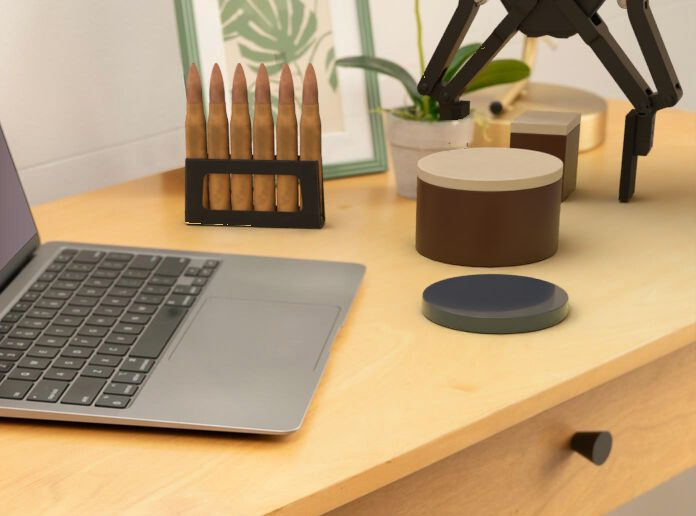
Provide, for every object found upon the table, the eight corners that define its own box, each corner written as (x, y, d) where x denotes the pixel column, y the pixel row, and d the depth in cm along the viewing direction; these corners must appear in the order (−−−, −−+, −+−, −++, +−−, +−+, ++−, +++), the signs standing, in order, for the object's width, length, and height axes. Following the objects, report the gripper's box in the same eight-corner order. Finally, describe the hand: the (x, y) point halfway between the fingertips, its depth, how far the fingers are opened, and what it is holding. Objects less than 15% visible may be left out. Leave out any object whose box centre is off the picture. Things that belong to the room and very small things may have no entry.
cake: (515, 222, 113) (520, 141, 110) (584, 256, 104) (590, 170, 101) (392, 237, 110) (394, 155, 107) (452, 273, 101) (455, 186, 99)
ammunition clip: (184, 224, 116) (177, 64, 110) (190, 218, 117) (184, 60, 112) (321, 228, 113) (320, 65, 108) (325, 222, 115) (325, 61, 109)
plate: (524, 281, 99) (524, 267, 99) (594, 322, 91) (596, 306, 91) (398, 298, 97) (399, 283, 97) (460, 341, 89) (461, 325, 89)
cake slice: (522, 183, 123) (526, 109, 120) (576, 187, 121) (581, 112, 119) (506, 198, 119) (510, 122, 116) (562, 202, 117) (567, 125, 115)
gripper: (381, -89, 113) (376, 190, 122) (727, -90, 103) (693, 214, 112) (412, -98, 119) (405, 169, 128) (741, -99, 109) (708, 190, 118)
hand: (540, 190), depth 120 cm, fingers open, 13 cm apart
